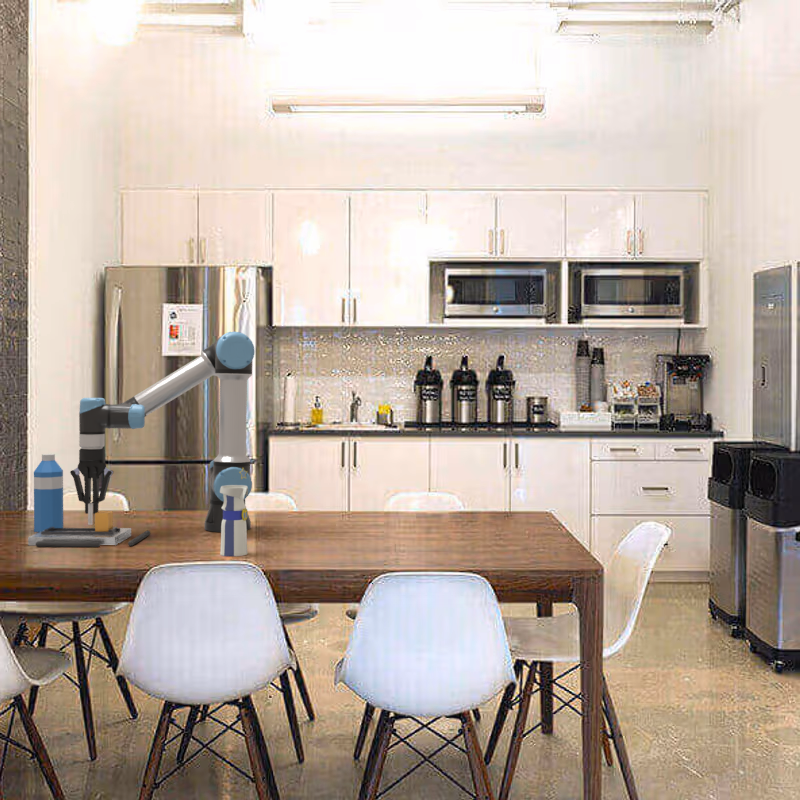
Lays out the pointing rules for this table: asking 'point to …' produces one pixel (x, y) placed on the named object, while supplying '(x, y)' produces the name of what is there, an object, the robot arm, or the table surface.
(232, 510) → the white tall piece
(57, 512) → the water bottle
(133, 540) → the rounded gray dowel
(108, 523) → the matte orange cube
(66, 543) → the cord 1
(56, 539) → the panel
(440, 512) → the table surface
